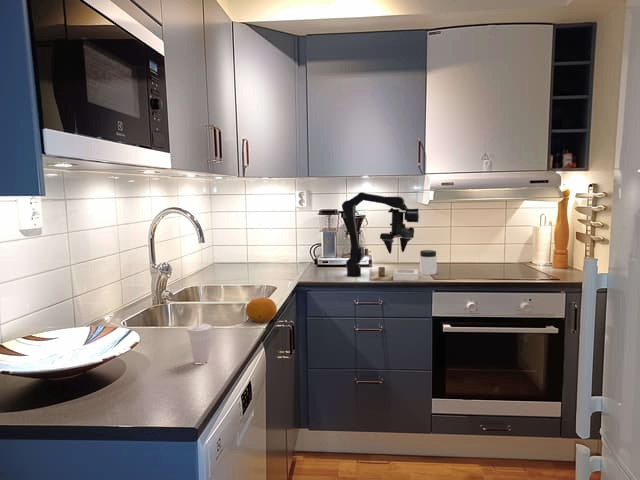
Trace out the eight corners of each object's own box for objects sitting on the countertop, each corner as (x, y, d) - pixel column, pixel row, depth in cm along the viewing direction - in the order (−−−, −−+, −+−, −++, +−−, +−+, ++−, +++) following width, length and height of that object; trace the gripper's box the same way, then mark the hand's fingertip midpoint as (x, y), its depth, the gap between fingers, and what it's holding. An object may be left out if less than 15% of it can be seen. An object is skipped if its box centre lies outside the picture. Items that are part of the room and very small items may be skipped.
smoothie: (183, 364, 120) (181, 313, 119) (198, 356, 126) (196, 307, 125) (204, 367, 118) (201, 315, 116) (218, 359, 124) (215, 309, 122)
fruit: (266, 314, 167) (265, 293, 166) (282, 320, 159) (281, 298, 158) (240, 320, 161) (240, 298, 160) (256, 327, 152) (255, 303, 152)
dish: (393, 281, 222) (393, 273, 222) (394, 276, 234) (394, 268, 234) (418, 282, 220) (418, 273, 219) (418, 277, 231) (418, 269, 231)
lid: (370, 280, 224) (370, 269, 224) (372, 275, 235) (372, 265, 234) (391, 280, 222) (391, 269, 222) (392, 276, 232) (392, 265, 232)
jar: (427, 275, 235) (428, 252, 234) (416, 273, 242) (416, 251, 241) (439, 273, 240) (439, 251, 239) (428, 271, 247) (428, 249, 245)
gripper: (396, 223, 214) (395, 256, 216) (422, 222, 226) (421, 253, 227) (379, 222, 223) (378, 253, 225) (405, 220, 234) (404, 250, 236)
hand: (396, 252), depth 228 cm, fingers open, 9 cm apart
